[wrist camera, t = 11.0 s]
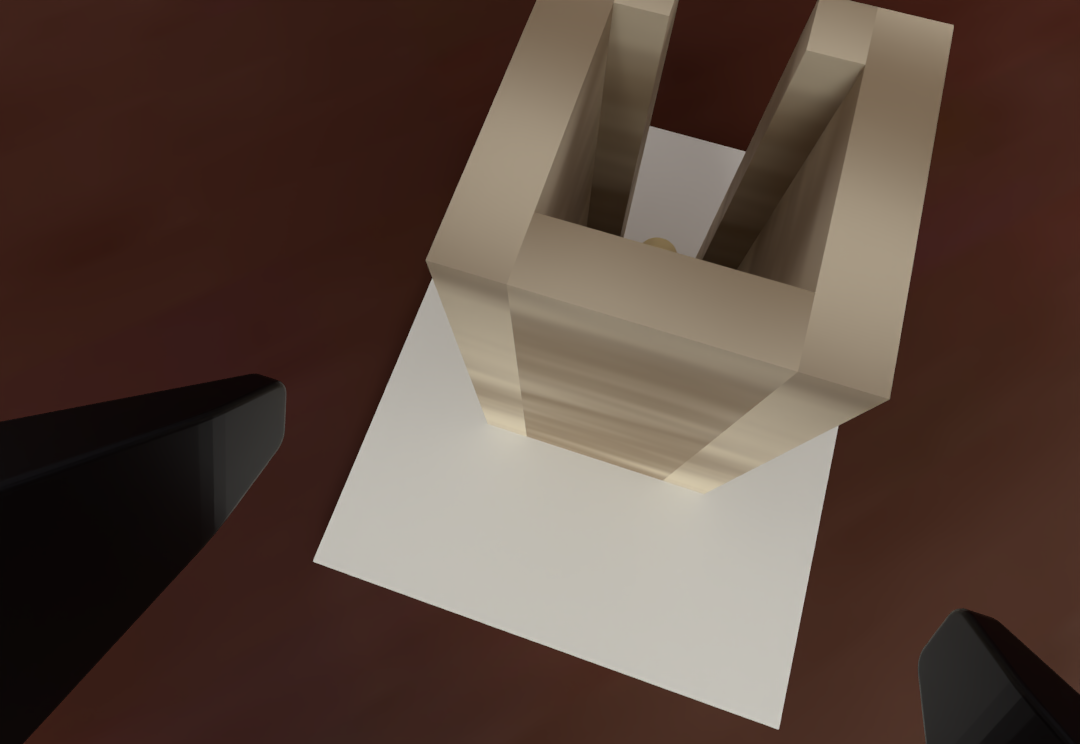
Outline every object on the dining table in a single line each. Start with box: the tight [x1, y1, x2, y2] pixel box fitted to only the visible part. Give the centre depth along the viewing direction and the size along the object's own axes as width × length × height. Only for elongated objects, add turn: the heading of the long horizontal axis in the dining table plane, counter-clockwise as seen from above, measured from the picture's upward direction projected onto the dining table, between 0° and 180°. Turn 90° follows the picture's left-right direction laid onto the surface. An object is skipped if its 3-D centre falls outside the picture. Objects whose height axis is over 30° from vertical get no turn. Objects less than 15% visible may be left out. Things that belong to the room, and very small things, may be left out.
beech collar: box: [426, 0, 954, 494], centre depth 16 cm, size 7×7×11 cm
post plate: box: [313, 126, 839, 730], centre depth 19 cm, size 18×14×5 cm
